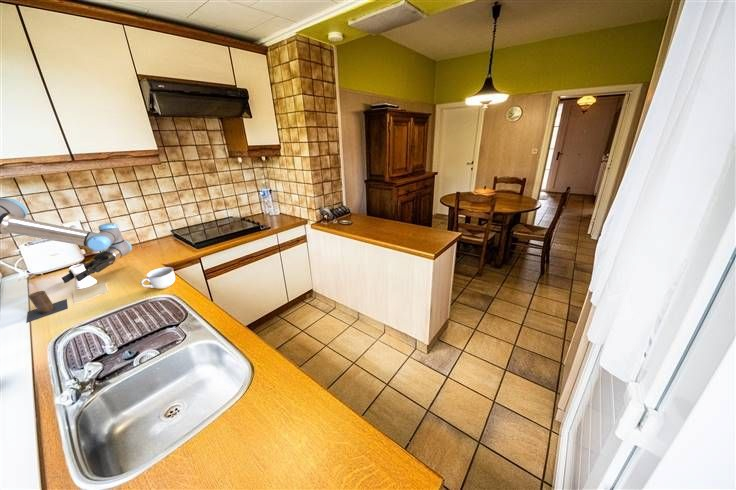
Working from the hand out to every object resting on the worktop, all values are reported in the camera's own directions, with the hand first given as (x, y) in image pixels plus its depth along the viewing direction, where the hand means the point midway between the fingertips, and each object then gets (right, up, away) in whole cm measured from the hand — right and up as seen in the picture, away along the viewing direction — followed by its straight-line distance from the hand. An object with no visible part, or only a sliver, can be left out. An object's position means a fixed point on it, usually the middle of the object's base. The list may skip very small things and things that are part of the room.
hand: (70, 279), depth 120 cm
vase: (-1, -4, +7) cm, 8 cm away
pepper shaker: (-5, -13, -4) cm, 15 cm away
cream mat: (0, -8, +9) cm, 12 cm away
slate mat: (-6, -14, -3) cm, 15 cm away
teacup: (+33, -5, +11) cm, 35 cm away
